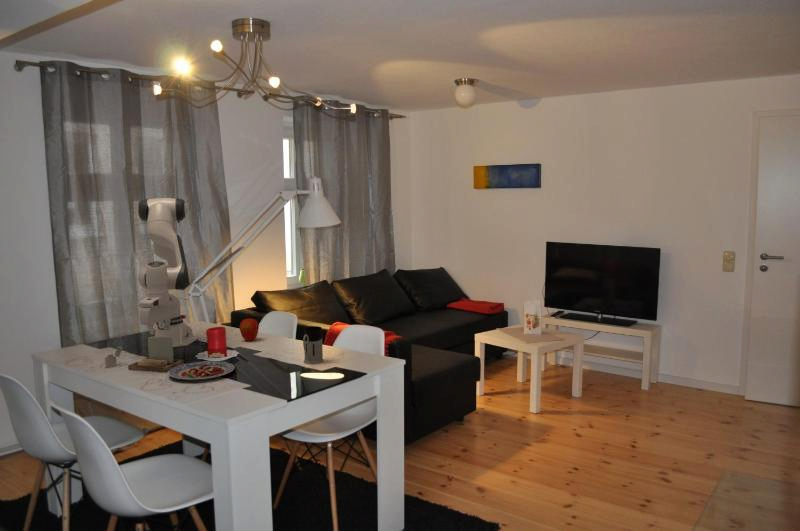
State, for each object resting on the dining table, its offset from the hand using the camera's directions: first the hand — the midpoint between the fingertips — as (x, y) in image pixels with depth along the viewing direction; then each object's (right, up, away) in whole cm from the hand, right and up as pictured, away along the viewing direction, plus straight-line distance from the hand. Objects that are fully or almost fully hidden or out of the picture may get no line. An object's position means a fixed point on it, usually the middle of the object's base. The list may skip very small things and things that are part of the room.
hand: (159, 331), depth 268 cm
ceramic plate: (+22, -17, -12) cm, 30 cm away
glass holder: (+65, -14, +3) cm, 66 cm away
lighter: (-20, -15, +1) cm, 25 cm away
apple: (+28, -10, +46) cm, 55 cm away
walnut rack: (-1, -15, -1) cm, 15 cm away
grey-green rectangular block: (0, -15, +2) cm, 15 cm away
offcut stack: (-2, -16, -3) cm, 16 cm away
